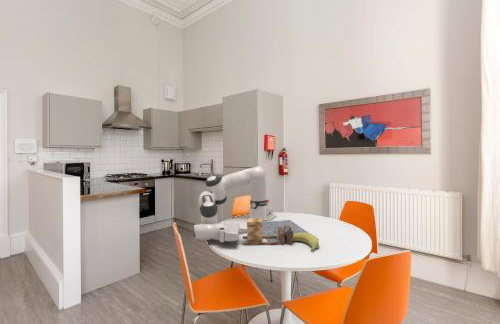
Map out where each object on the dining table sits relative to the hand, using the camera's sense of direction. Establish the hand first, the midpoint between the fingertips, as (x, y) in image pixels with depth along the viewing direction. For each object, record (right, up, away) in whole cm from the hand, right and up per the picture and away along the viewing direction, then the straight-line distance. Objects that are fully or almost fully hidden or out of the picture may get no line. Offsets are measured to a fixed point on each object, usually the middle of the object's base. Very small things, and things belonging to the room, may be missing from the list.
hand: (247, 231), depth 146 cm
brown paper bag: (+4, -6, +1) cm, 7 cm away
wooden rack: (+11, -6, 0) cm, 13 cm away
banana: (+31, -6, -6) cm, 32 cm away
